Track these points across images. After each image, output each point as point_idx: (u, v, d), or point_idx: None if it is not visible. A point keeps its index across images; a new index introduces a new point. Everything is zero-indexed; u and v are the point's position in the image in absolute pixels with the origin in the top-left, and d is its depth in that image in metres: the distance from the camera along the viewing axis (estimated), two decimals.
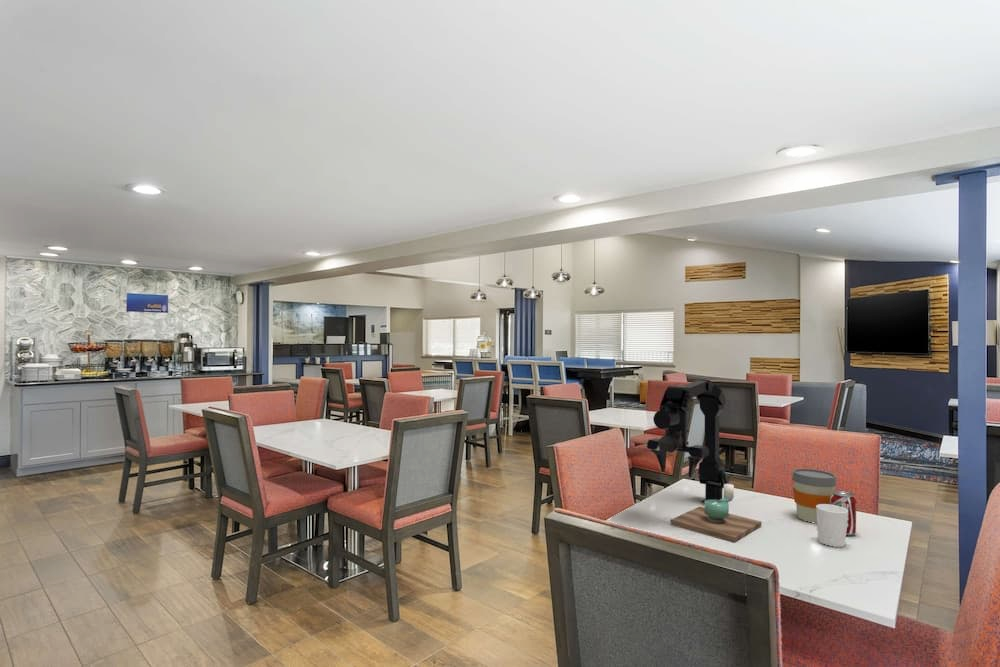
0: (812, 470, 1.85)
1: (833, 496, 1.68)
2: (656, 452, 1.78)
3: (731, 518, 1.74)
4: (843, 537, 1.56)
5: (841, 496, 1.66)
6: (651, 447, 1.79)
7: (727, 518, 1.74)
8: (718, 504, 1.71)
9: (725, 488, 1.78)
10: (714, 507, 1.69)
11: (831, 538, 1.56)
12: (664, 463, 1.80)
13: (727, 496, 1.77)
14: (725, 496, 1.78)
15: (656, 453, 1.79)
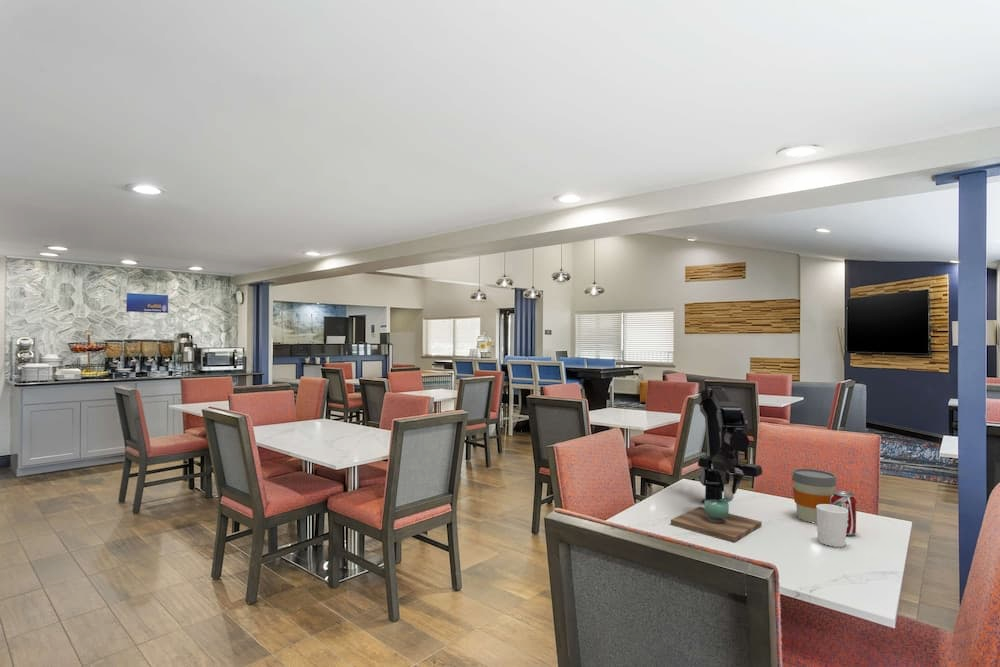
0: (812, 470, 1.85)
1: (833, 496, 1.68)
2: (717, 472, 1.79)
3: (731, 518, 1.74)
4: (843, 537, 1.56)
5: (841, 496, 1.66)
6: (703, 465, 1.82)
7: (727, 518, 1.74)
8: (718, 504, 1.71)
9: (725, 488, 1.78)
10: (714, 507, 1.69)
11: (831, 538, 1.56)
12: (724, 483, 1.80)
13: (727, 496, 1.77)
14: (725, 496, 1.78)
15: (716, 473, 1.79)
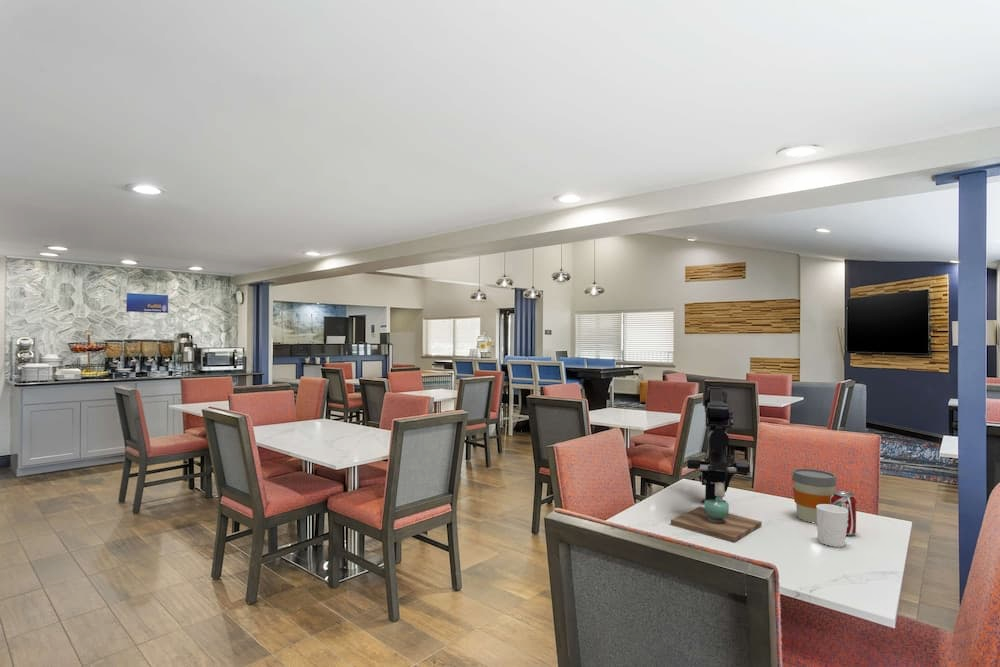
0: (812, 470, 1.85)
1: (833, 496, 1.68)
2: (706, 472, 1.79)
3: (731, 518, 1.74)
4: (843, 537, 1.56)
5: (841, 496, 1.66)
6: (694, 467, 1.80)
7: (727, 518, 1.74)
8: (719, 503, 1.71)
9: (717, 487, 1.79)
10: (718, 507, 1.69)
11: (831, 538, 1.56)
12: None
13: (720, 495, 1.79)
14: (717, 495, 1.79)
15: (706, 473, 1.79)
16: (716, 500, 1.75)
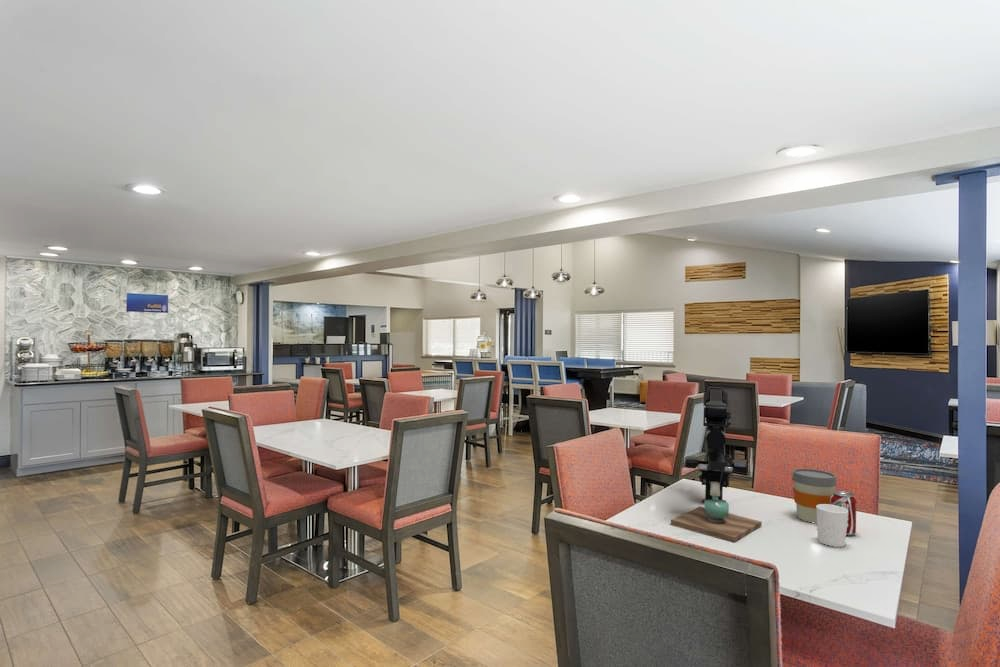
0: (812, 470, 1.85)
1: (833, 496, 1.68)
2: (706, 471, 1.79)
3: (731, 518, 1.74)
4: (843, 537, 1.56)
5: (841, 496, 1.66)
6: (691, 466, 1.80)
7: (727, 518, 1.74)
8: (719, 503, 1.71)
9: (713, 486, 1.80)
10: (720, 508, 1.69)
11: (831, 538, 1.56)
12: None
13: (716, 494, 1.79)
14: (713, 494, 1.80)
15: (705, 472, 1.79)
16: (715, 500, 1.75)
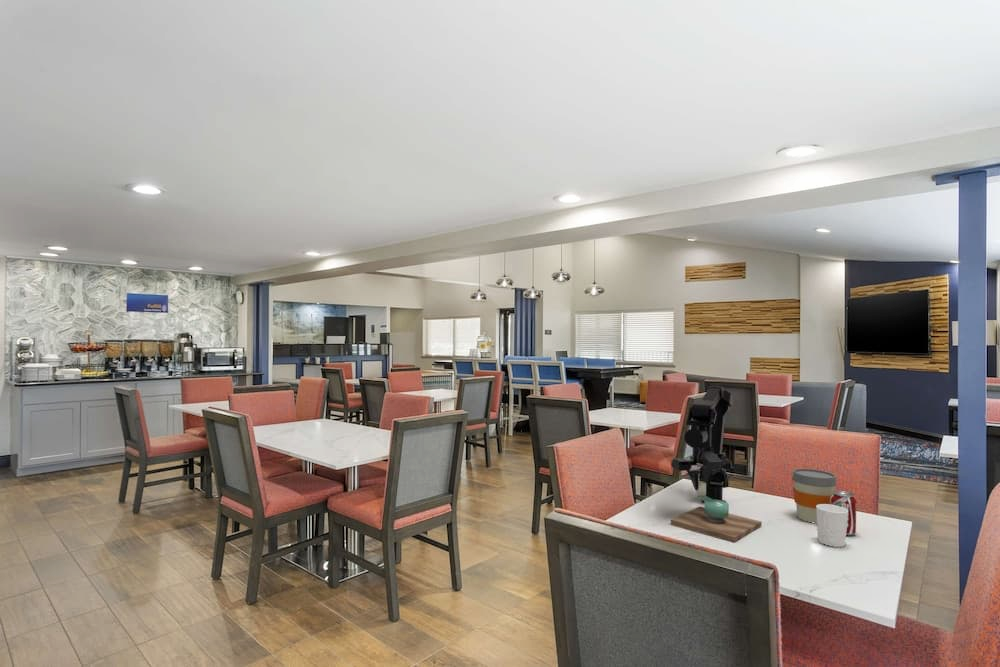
0: (812, 470, 1.85)
1: (833, 496, 1.68)
2: (697, 472, 1.78)
3: (731, 518, 1.74)
4: (843, 537, 1.56)
5: (841, 496, 1.66)
6: (685, 469, 1.77)
7: (727, 518, 1.74)
8: (720, 503, 1.72)
9: (702, 486, 1.80)
10: (725, 507, 1.69)
11: (831, 538, 1.56)
12: None
13: (704, 493, 1.80)
14: (702, 494, 1.80)
15: (696, 473, 1.78)
16: (710, 500, 1.75)
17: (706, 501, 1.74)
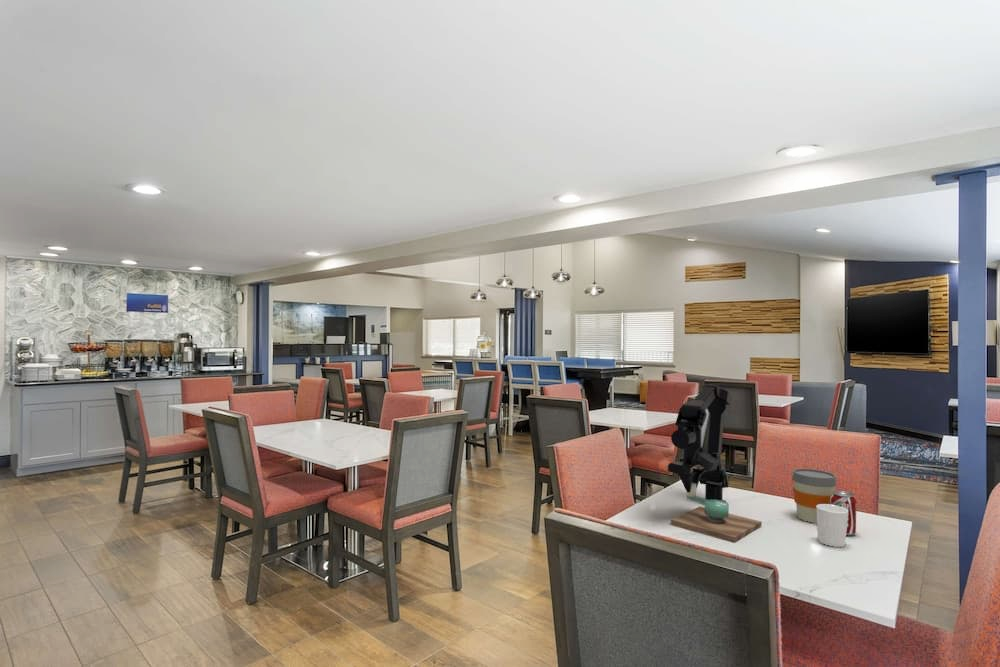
0: (812, 470, 1.85)
1: (833, 496, 1.68)
2: (694, 474, 1.75)
3: (731, 518, 1.74)
4: (843, 537, 1.56)
5: (841, 496, 1.66)
6: (687, 472, 1.72)
7: (727, 518, 1.74)
8: (720, 502, 1.72)
9: (694, 487, 1.78)
10: (728, 506, 1.70)
11: (831, 538, 1.56)
12: None
13: (695, 494, 1.78)
14: (694, 495, 1.78)
15: (692, 475, 1.76)
16: (707, 500, 1.74)
17: (707, 502, 1.72)
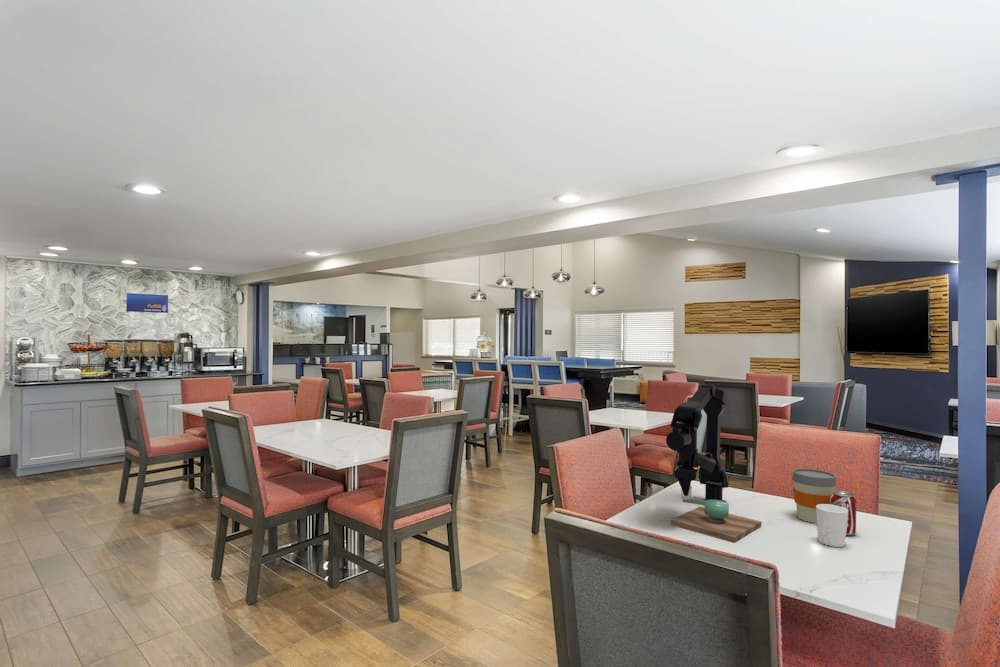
0: (812, 470, 1.85)
1: (833, 496, 1.68)
2: None
3: (731, 518, 1.74)
4: (843, 537, 1.56)
5: (841, 496, 1.66)
6: None
7: (727, 518, 1.74)
8: (718, 502, 1.73)
9: (690, 490, 1.75)
10: None
11: (831, 538, 1.56)
12: None
13: None
14: (690, 498, 1.75)
15: None
16: (707, 501, 1.73)
17: (709, 504, 1.71)
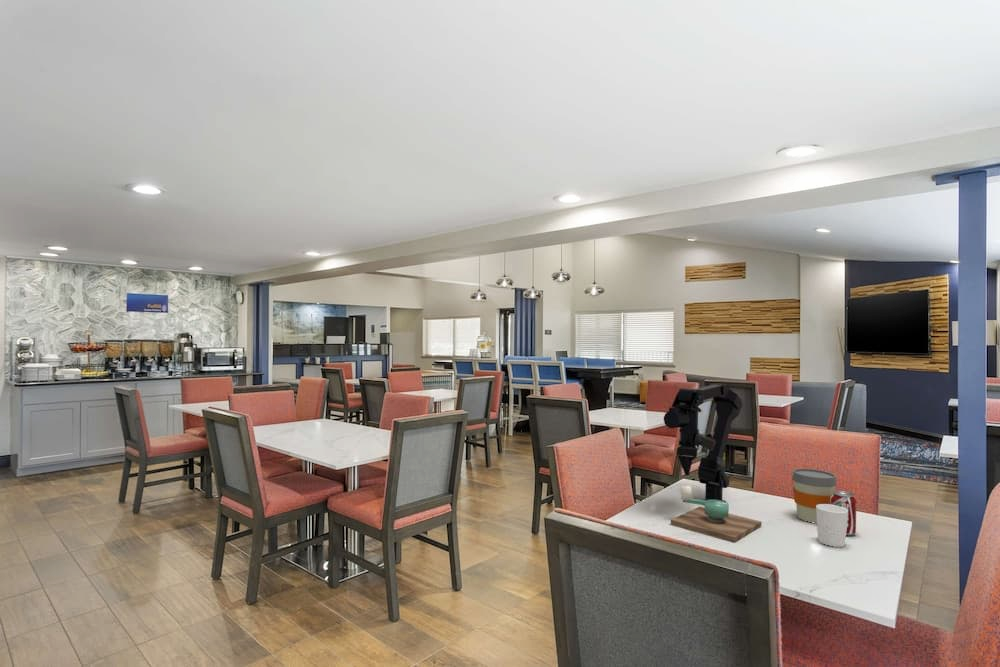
0: (812, 470, 1.85)
1: (833, 496, 1.68)
2: (695, 457, 1.80)
3: (731, 518, 1.74)
4: (843, 537, 1.56)
5: (841, 496, 1.66)
6: None
7: (727, 518, 1.74)
8: (718, 502, 1.73)
9: (690, 490, 1.75)
10: None
11: (831, 538, 1.56)
12: None
13: None
14: (690, 498, 1.75)
15: None
16: (707, 501, 1.73)
17: (709, 504, 1.71)
